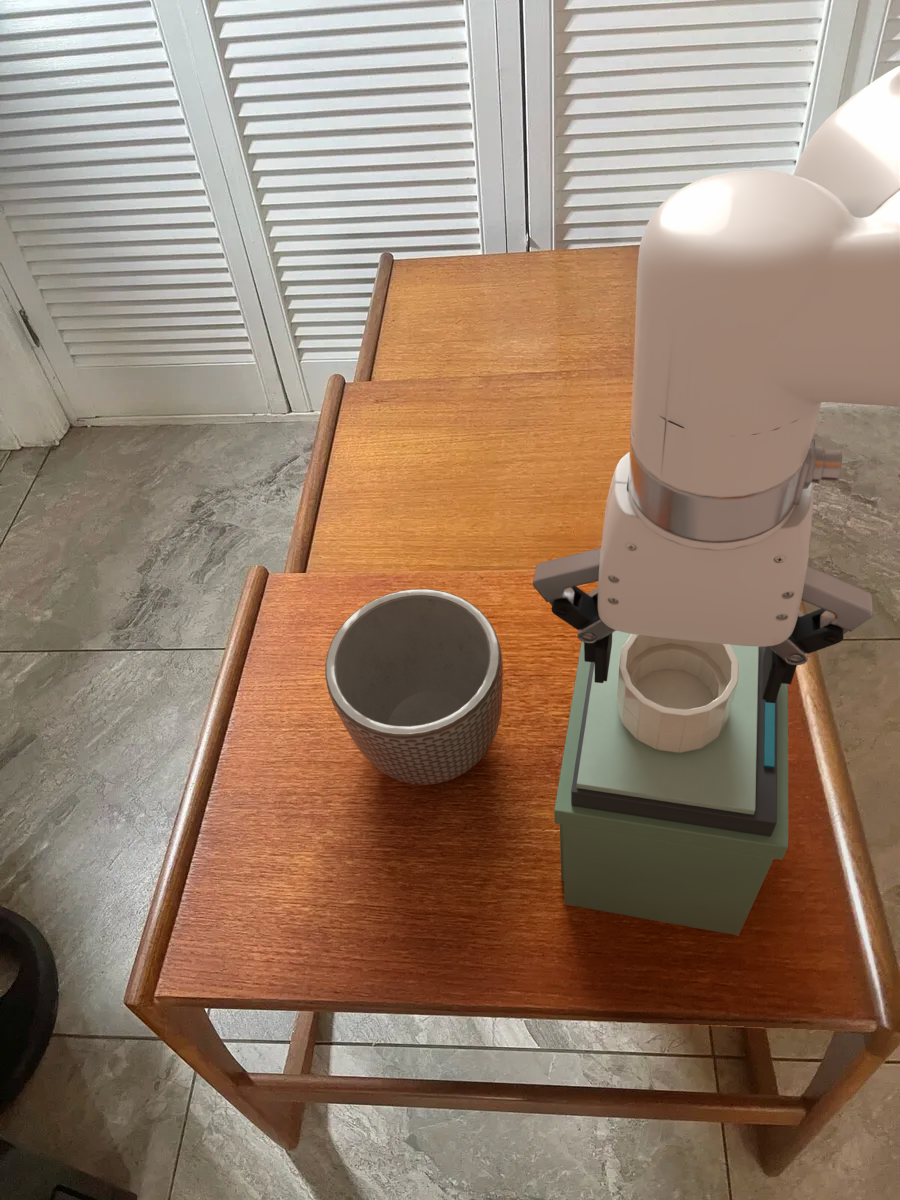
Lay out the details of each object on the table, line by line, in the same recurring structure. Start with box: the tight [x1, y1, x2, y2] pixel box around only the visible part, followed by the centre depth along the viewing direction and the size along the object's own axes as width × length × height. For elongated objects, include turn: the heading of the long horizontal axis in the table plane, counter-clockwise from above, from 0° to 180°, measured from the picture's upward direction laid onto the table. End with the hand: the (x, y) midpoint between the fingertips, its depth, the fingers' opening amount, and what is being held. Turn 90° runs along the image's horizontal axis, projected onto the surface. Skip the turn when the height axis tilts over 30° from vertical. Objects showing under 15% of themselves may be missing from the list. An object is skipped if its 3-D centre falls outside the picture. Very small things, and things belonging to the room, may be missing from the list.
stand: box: [553, 640, 789, 936], centre depth 66 cm, size 14×14×17 cm
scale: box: [571, 631, 778, 837], centre depth 58 cm, size 12×13×3 cm
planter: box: [324, 588, 504, 786], centre depth 75 cm, size 14×14×13 cm
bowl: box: [616, 634, 739, 753], centre depth 55 cm, size 7×7×5 cm
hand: (684, 672), depth 54 cm, fingers open, 9 cm apart
